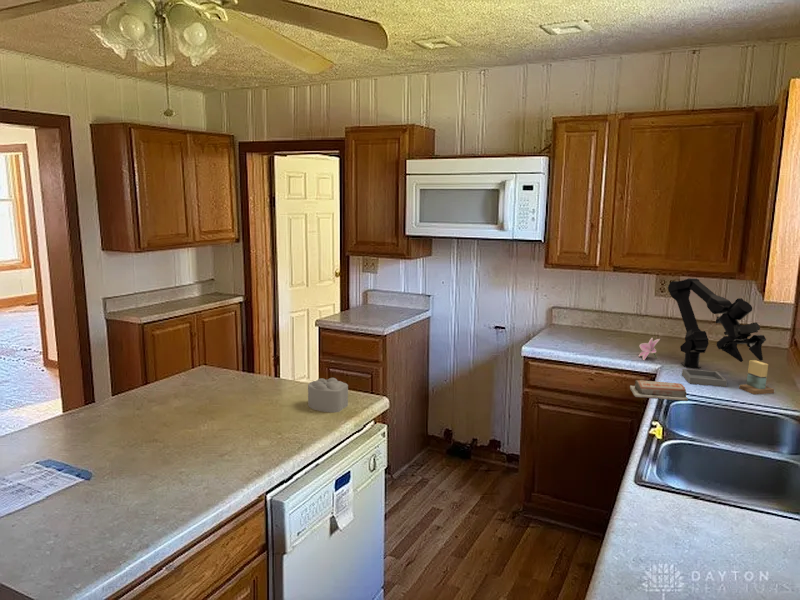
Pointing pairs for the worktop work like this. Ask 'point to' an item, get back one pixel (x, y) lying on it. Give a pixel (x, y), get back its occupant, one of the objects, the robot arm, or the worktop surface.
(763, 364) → the stub
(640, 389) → the packaged product
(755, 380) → the ticket holder
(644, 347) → the lily
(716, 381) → the stub tray
